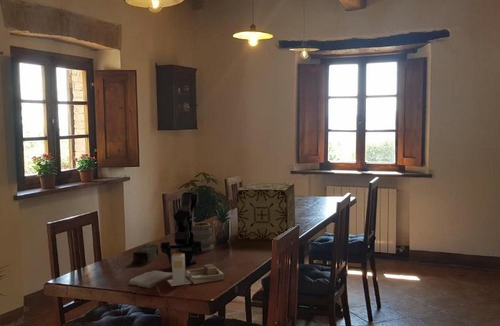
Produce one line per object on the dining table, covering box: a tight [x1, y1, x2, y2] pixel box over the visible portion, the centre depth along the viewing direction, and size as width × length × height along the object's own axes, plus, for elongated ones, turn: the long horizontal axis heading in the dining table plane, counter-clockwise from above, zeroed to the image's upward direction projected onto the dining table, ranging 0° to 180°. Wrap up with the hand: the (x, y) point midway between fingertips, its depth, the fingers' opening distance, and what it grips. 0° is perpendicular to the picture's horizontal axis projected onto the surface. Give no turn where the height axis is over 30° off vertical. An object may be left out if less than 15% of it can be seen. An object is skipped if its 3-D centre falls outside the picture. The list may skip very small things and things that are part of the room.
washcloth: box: [128, 270, 173, 289], centre depth 231 cm, size 12×18×3 cm, turn 152°
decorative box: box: [236, 182, 296, 241], centre depth 317 cm, size 30×30×30 cm
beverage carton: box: [132, 243, 159, 265], centre depth 267 cm, size 8×19×7 cm, turn 173°
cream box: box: [171, 253, 187, 284], centre depth 226 cm, size 5×5×12 cm
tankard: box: [192, 221, 215, 253], centre depth 289 cm, size 20×13×15 cm, turn 32°
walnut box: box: [203, 263, 218, 276], centre depth 235 cm, size 7×4×4 cm, turn 22°
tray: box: [185, 267, 225, 285], centre depth 231 cm, size 14×14×3 cm
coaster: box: [166, 277, 192, 287], centre depth 226 cm, size 9×9×1 cm
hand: (180, 263), depth 230 cm, fingers open, 9 cm apart
